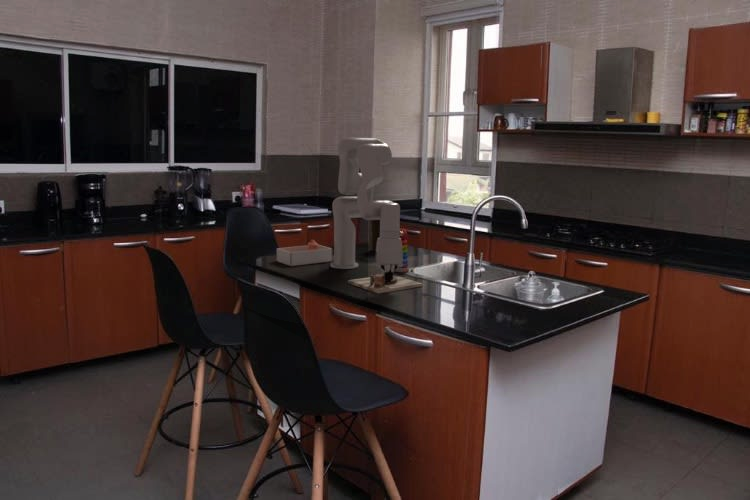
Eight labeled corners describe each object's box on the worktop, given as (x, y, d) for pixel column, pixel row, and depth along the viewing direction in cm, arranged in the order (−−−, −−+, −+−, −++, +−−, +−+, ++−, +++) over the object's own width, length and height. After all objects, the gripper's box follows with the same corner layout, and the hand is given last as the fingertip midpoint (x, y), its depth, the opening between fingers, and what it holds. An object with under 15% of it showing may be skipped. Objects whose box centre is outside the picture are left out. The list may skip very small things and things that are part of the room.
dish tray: (276, 261, 307) (276, 248, 306) (317, 256, 320) (317, 244, 319) (290, 266, 296) (290, 252, 295) (332, 261, 310) (332, 248, 308)
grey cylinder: (366, 283, 260) (367, 263, 259) (385, 280, 266) (386, 261, 265) (371, 285, 258) (371, 265, 256) (390, 282, 264) (391, 262, 262)
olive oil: (366, 250, 340) (367, 201, 335) (380, 248, 347) (382, 200, 343) (381, 253, 332) (382, 203, 328) (395, 250, 340) (397, 202, 335)
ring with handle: (377, 277, 270) (377, 268, 269) (399, 279, 267) (399, 270, 266) (366, 285, 256) (366, 275, 255) (389, 287, 253) (389, 277, 252)
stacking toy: (407, 273, 287) (408, 230, 283) (389, 272, 288) (390, 229, 285) (410, 269, 294) (411, 228, 291) (392, 268, 296) (393, 227, 293)
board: (348, 283, 266) (348, 280, 265) (391, 276, 279) (391, 274, 278) (378, 293, 250) (378, 290, 250) (422, 286, 263) (422, 283, 263)
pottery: (290, 265, 298) (290, 244, 296) (280, 262, 305) (280, 241, 304) (324, 261, 308) (324, 241, 307) (313, 258, 316) (313, 238, 314)
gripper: (407, 233, 257) (406, 279, 260) (369, 233, 255) (368, 280, 259) (410, 236, 250) (409, 283, 253) (371, 236, 248) (370, 284, 251)
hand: (388, 281), depth 256 cm, fingers closed
